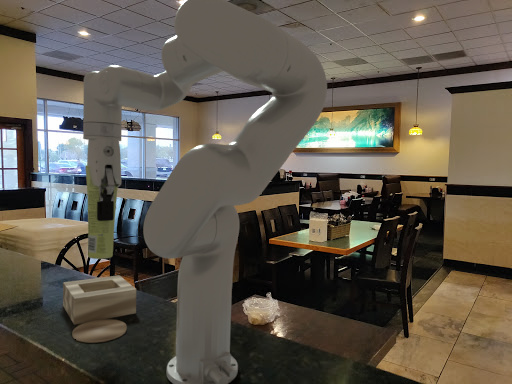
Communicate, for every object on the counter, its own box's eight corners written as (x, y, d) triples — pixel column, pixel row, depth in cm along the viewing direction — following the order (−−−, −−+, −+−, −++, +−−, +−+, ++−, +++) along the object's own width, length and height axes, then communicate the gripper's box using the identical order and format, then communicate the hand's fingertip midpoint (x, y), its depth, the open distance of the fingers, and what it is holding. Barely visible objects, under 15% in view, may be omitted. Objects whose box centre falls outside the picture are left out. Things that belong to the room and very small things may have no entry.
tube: (111, 253, 87) (112, 166, 86) (119, 257, 84) (120, 166, 82) (84, 256, 84) (85, 165, 82) (91, 261, 80) (92, 166, 79)
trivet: (133, 335, 83) (133, 332, 83) (78, 347, 77) (78, 344, 77) (118, 318, 92) (118, 315, 92) (67, 327, 86) (67, 325, 86)
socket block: (135, 313, 96) (136, 289, 95) (74, 324, 87) (74, 298, 87) (119, 296, 107) (119, 275, 107) (63, 305, 99) (63, 282, 98)
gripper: (133, 132, 77) (132, 223, 78) (109, 136, 91) (109, 213, 92) (93, 129, 73) (92, 225, 74) (75, 133, 87) (74, 215, 88)
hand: (101, 217), depth 83 cm, fingers closed on tube, 4 cm apart
